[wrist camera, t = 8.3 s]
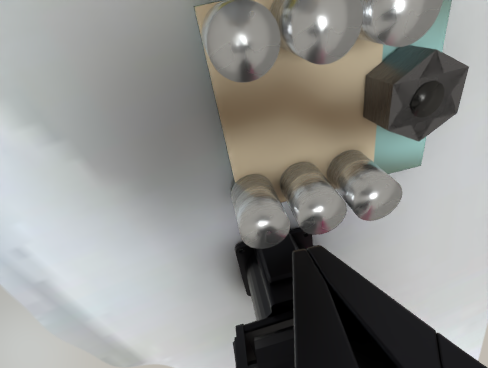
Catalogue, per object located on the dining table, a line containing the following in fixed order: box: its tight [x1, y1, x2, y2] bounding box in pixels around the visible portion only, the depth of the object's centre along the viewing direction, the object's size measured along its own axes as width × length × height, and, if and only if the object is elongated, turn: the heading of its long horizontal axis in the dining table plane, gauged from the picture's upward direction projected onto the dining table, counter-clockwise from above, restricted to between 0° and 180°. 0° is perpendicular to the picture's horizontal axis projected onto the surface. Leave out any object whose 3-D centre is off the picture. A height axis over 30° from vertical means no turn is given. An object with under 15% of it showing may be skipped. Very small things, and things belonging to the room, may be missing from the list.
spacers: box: [201, 0, 443, 249], centre depth 16 cm, size 13×10×4 cm
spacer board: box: [194, 0, 452, 202], centre depth 18 cm, size 13×14×1 cm
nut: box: [363, 45, 469, 142], centre depth 17 cm, size 5×4×3 cm
